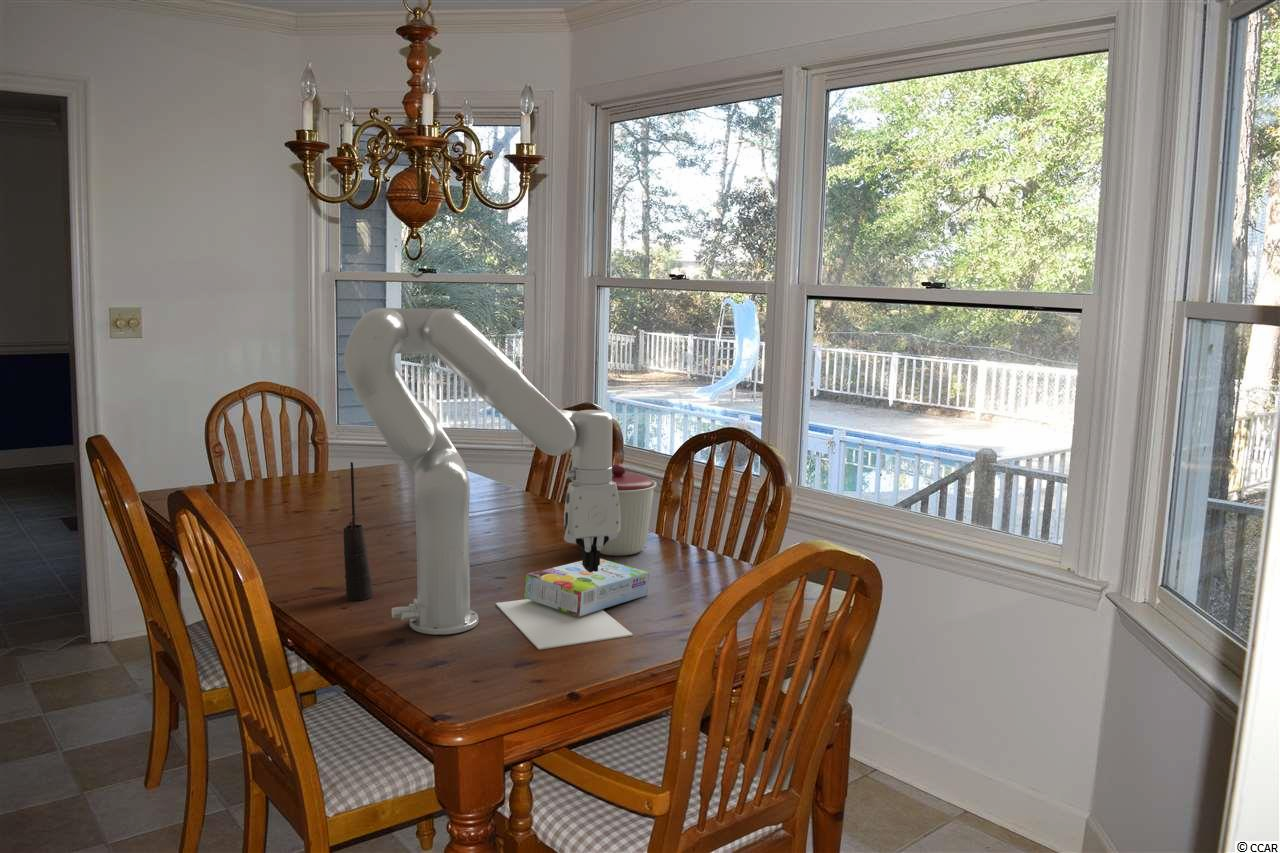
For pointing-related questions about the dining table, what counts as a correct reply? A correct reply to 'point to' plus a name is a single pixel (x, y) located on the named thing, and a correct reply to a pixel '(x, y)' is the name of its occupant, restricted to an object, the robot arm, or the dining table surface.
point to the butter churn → (356, 558)
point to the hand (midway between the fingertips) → (591, 569)
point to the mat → (560, 624)
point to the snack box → (586, 586)
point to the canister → (631, 512)
